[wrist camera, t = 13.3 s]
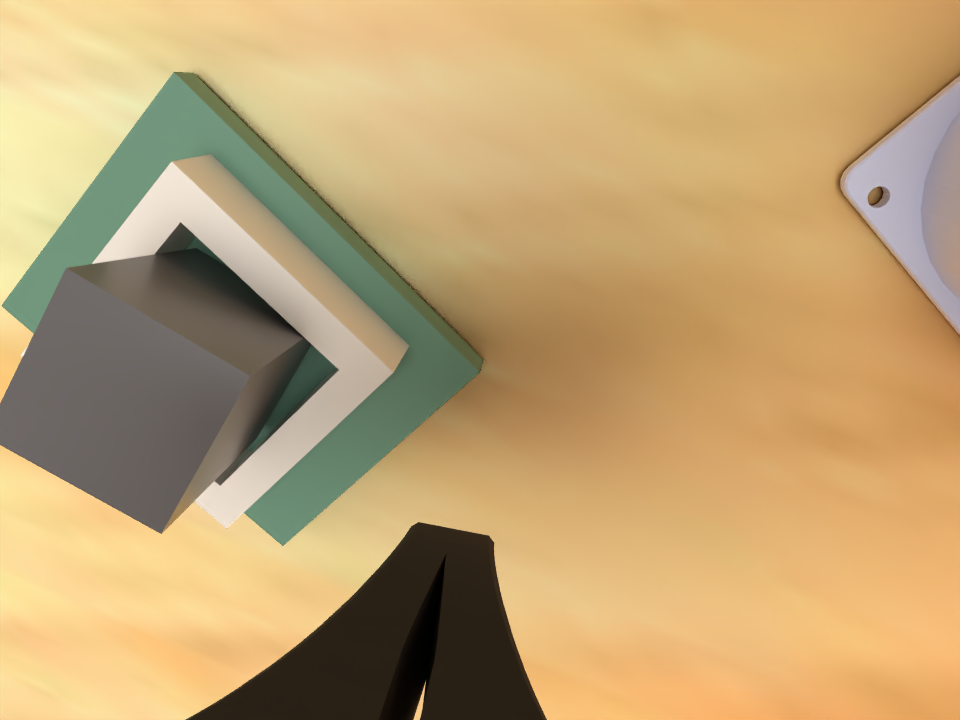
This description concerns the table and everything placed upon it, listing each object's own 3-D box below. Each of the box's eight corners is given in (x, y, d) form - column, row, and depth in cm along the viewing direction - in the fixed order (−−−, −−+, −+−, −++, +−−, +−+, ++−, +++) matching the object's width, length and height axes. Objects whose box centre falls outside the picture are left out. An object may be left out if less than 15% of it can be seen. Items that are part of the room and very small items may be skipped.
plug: (322, 324, 20) (250, 376, 14) (231, 482, 21) (128, 592, 15) (196, 247, 19) (66, 267, 13) (109, 413, 20) (-46, 498, 14)
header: (409, 345, 20) (393, 372, 18) (255, 491, 22) (226, 528, 20) (211, 154, 18) (171, 161, 16) (69, 331, 21) (20, 355, 19)
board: (483, 359, 21) (479, 372, 20) (293, 527, 23) (282, 546, 23) (193, 72, 19) (173, 71, 18) (25, 296, 21) (1, 305, 21)
